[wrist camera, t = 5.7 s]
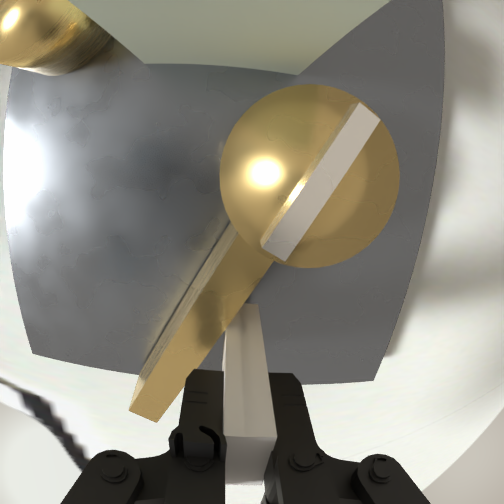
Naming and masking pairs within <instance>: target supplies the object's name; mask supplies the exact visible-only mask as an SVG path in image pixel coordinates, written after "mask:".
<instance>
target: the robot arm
mask: <svg viewBox="0 0 504 504" xmlns="http://www.w3.org/2000/svg"><path fill="white" fill-rule="evenodd" d="M168 440H169V447H170V450H168V451H167V452H166V453H164V454H161V455H159V456H155V457H149V458H139V459H134V458H133V457H132V456H130V455H129V454H127V453H126V452H122V451H118V450H106V451H103V452H101V453H98V454H97V455H95V456H94V457H93V458H92V459H91V460H90V462H89V463H88V465H87V466H86V468H85V469H84V470H83V472H82V473H81V475H80V476H79V478H78V479H77V480H76V482H75V483H74V485H73V486H72V488H71V489H70V491H69V492H68V494H67V495H66V496H65V498H64V499H63V501H62V502H61V504H225V485H262V483H263V480H264V484H265V493H264V496H263V499H262V501H261V504H430V502H429V501H428V500H427V498H426V497H425V496H424V495H423V494H422V492H421V491H420V489H419V488H418V487H417V486H416V484H415V483H414V482H413V480H412V479H411V478H410V477H409V475H408V474H407V473H406V471H405V470H404V469H403V468H402V466H401V465H400V464H399V463H398V462H397V461H396V460H395V459H394V458H392V457H390V456H387V455H383V454H374V455H370V456H368V457H366V458H365V459H363V460H362V461H361V463H359V462H352V461H345V460H339V459H336V458H333V457H331V456H329V455H327V454H325V452H324V451H323V450H321V449H320V448H319V446H318V445H317V443H316V440H315V436H314V432H313V428H312V424H311V420H310V417H309V413H308V409H307V407H306V401H305V397H304V393H303V389H302V385H301V383H300V381H299V380H298V379H297V378H296V377H295V375H294V374H293V373H271V372H268V370H267V363H266V356H265V349H264V342H263V335H262V328H261V321H260V314H259V307H258V304H248V303H244V304H243V305H242V307H241V308H240V310H239V311H238V312H237V314H236V315H235V317H234V318H233V319H232V321H231V322H230V324H229V325H228V326H227V328H226V329H225V333H224V345H223V362H222V371H215V370H203V369H193V370H192V372H191V373H190V374H189V375H188V377H187V378H186V381H185V387H184V394H183V400H182V406H181V413H180V419H179V426H178V427H176V428H175V429H174V430H173V431H172V432H171V434H170V437H169V439H168Z"/></svg>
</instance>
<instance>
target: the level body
mask: <svg viewBox="0 0 504 504" xmlns="http://www.w3.org/2000/svg"><path fill="white" fill-rule="evenodd" d="M68 1H69V2H71V3H72V4H73V5H75V6H76V7H77V8H78V9H80V10H81V11H82V12H83V13H85V14H86V15H87V16H88V17H90V18H91V19H92V20H93V21H95V22H96V23H97V24H98V25H100V26H101V27H102V28H103V29H105V30H106V31H107V32H108V33H109V34H111V35H112V36H113V37H114V38H115V39H117V40H118V41H119V42H120V43H121V44H122V45H124V46H125V47H126V48H127V49H128V50H129V51H131V52H132V53H133V54H134V55H135V56H136V57H138V58H139V59H140V60H141V61H142V62H143V63H144V64H202V65H218V66H230V67H241V68H250V69H259V70H266V71H274V72H280V73H287V74H293V75H299V74H300V73H301V72H302V71H304V70H305V69H306V68H307V67H308V66H309V65H310V64H312V63H313V62H314V61H315V60H316V59H317V58H318V57H320V56H321V55H322V54H323V53H324V52H326V51H327V50H328V49H329V48H330V47H332V46H333V45H334V44H335V43H336V42H338V41H339V40H340V39H341V38H342V37H344V36H345V35H346V34H347V33H349V32H350V31H351V30H352V29H354V28H355V27H356V26H358V25H359V24H360V23H361V22H363V21H364V20H365V19H367V18H368V17H369V16H371V15H372V14H373V13H375V12H376V11H377V10H379V9H380V8H381V7H383V6H384V5H385V4H387V3H388V2H390V1H391V0H68Z"/></svg>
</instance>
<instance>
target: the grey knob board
mask: <svg viewBox="0 0 504 504" xmlns="http://www.w3.org/2000/svg"><path fill="white" fill-rule="evenodd" d="M0 64H3V65H8V66H12V73H11V79H10V86H9V93H8V101H7V110H6V121H5V136H4V200H5V215H6V226H7V236H8V244H9V251H10V258H11V265H12V271H13V276H14V282H15V287H16V292H17V296H18V301H19V305H20V310H21V314H22V318H23V322H24V326H25V329H26V333H27V336H28V340H29V343H30V347H31V350H32V353H33V354H36V355H40V356H44V357H48V358H52V359H56V360H61V361H65V362H69V363H74V364H79V365H84V366H89V367H94V368H100V369H105V370H111V371H117V372H123V373H130V374H136V375H139V374H140V371H141V369H142V368H143V366H144V364H145V363H146V361H147V359H148V357H149V356H150V354H151V352H152V350H153V349H154V347H155V345H156V344H157V342H158V340H159V338H160V337H161V335H162V333H163V332H164V330H165V328H166V327H167V325H168V323H169V321H170V320H171V318H172V316H173V315H174V313H175V311H176V310H177V308H178V306H179V305H180V303H181V301H182V300H183V298H184V296H185V295H186V293H187V291H188V290H189V288H190V286H191V285H192V283H193V282H194V280H195V278H196V277H197V275H198V273H199V272H200V270H201V269H202V267H203V265H204V264H205V262H206V260H207V259H208V257H209V256H210V254H211V252H212V251H213V249H214V248H215V246H216V244H217V243H218V241H219V240H220V238H221V236H222V235H223V233H224V232H225V230H226V228H227V227H228V225H229V224H230V222H231V221H230V219H229V216H228V214H227V212H226V210H225V207H224V203H223V200H222V196H221V190H220V175H219V173H220V163H221V158H222V154H223V149H224V146H225V144H226V141H227V139H228V136H229V134H230V133H231V131H232V129H233V127H234V126H235V124H236V123H237V121H238V120H239V119H240V118H241V116H242V115H243V114H244V113H245V112H246V111H247V110H248V109H249V108H250V107H251V106H252V105H253V104H255V103H256V102H257V101H259V100H260V99H262V98H263V97H265V96H267V95H269V94H271V93H272V92H275V91H277V90H280V89H283V88H286V87H290V86H295V85H304V84H316V85H325V86H330V87H334V88H337V89H340V90H343V91H345V92H347V93H349V94H351V95H353V96H355V97H357V98H358V99H360V100H361V101H362V102H364V103H365V104H367V105H368V106H369V107H370V108H371V109H372V110H373V111H374V112H375V113H376V114H377V115H378V117H379V118H380V119H381V120H382V122H383V123H384V125H385V126H386V128H387V130H388V131H389V133H390V135H391V137H392V140H393V142H394V145H395V148H396V151H397V155H398V161H399V170H400V181H399V190H398V196H397V200H396V203H395V206H394V209H393V211H392V214H391V216H390V218H389V220H388V222H387V223H386V225H385V227H384V228H383V230H382V231H381V232H380V233H379V235H378V236H377V237H376V238H375V239H374V240H373V241H372V242H371V243H370V244H369V245H368V246H367V247H366V248H364V249H363V250H362V251H361V252H359V253H358V254H356V255H354V256H353V257H351V258H349V259H347V260H345V261H342V262H340V263H337V264H334V265H330V266H325V267H320V268H299V267H293V266H288V265H284V264H281V263H278V262H275V261H273V263H272V264H271V266H270V267H269V268H268V270H267V271H266V273H265V274H264V276H263V277H262V278H261V280H260V281H259V283H258V284H257V286H256V287H255V288H254V290H253V291H252V293H251V294H250V295H249V297H248V298H247V300H246V301H245V303H248V304H258V307H259V314H260V321H261V328H262V335H263V342H264V349H265V356H266V363H267V370H268V372H271V373H293V374H294V375H295V377H296V378H297V379H298V380H299V381H300V383H301V385H307V384H334V383H351V382H365V381H373V380H374V378H375V376H376V373H377V371H378V369H379V366H380V364H381V361H382V359H383V357H384V354H385V351H386V349H387V346H388V344H389V341H390V338H391V336H392V333H393V330H394V328H395V325H396V322H397V319H398V316H399V313H400V310H401V307H402V304H403V301H404V298H405V295H406V292H407V289H408V285H409V282H410V279H411V275H412V272H413V268H414V265H415V261H416V257H417V254H418V250H419V246H420V242H421V238H422V234H423V229H424V225H425V221H426V216H427V211H428V206H429V201H430V196H431V191H432V185H433V180H434V174H435V167H436V161H437V154H438V146H439V138H440V129H441V119H442V106H443V91H444V19H443V5H442V0H391V1H390V2H388V3H387V4H385V5H384V6H383V7H381V8H380V9H379V10H377V11H376V12H375V13H373V14H372V15H371V16H369V17H368V18H367V19H365V20H364V21H363V22H361V23H360V24H359V25H358V26H356V27H355V28H354V29H352V30H351V31H350V32H349V33H347V34H346V35H345V36H344V37H342V38H341V39H340V40H339V41H338V42H336V43H335V44H334V45H333V46H332V47H330V48H329V49H328V50H327V51H326V52H324V53H323V54H322V55H321V56H320V57H318V58H317V59H316V60H315V61H314V62H313V63H312V64H310V65H309V66H308V67H307V68H306V69H305V70H304V71H302V72H301V73H300V74H299V75H293V74H287V73H280V72H274V71H266V70H259V69H250V68H241V67H230V66H218V65H202V64H144V63H143V62H142V61H141V60H140V59H139V58H138V57H136V56H135V55H134V54H133V53H132V52H131V51H129V50H128V49H127V48H126V47H125V46H124V45H122V44H121V43H120V42H119V41H118V40H117V39H115V38H114V37H113V36H112V35H111V34H109V33H108V32H107V31H106V30H105V29H103V28H102V27H101V26H100V25H98V24H97V23H96V22H95V21H93V20H92V19H91V18H90V17H88V16H87V15H86V14H85V13H83V12H82V11H81V10H80V9H78V8H77V7H76V6H75V5H73V4H72V3H71V2H69V1H68V0H0ZM224 333H225V331H224V332H223V333H222V335H221V336H220V338H219V339H218V340H217V342H216V343H215V345H214V346H213V347H212V349H211V350H210V351H209V353H208V354H207V356H206V357H205V358H204V360H203V361H202V362H201V364H200V365H199V367H198V368H197V369H203V370H215V371H222V362H223V345H224Z"/></svg>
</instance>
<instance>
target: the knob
mask: <svg viewBox="0 0 504 504" xmlns="http://www.w3.org/2000/svg"><path fill="white" fill-rule="evenodd" d="M219 175H220V190H221V196H222V200H223V203H224V207H225V210H226V212H227V214H228V216H229V219H230V221H231V222H230V224H229V225H228V227H227V228H226V230H225V232H224V233H223V235H222V236H221V238H220V240H219V241H218V243H217V244H216V246H215V248H214V249H213V251H212V252H211V254H210V256H209V257H208V259H207V260H206V262H205V264H204V265H203V267H202V269H201V270H200V272H199V273H198V275H197V277H196V278H195V280H194V282H193V283H192V285H191V286H190V288H189V290H188V291H187V293H186V295H185V296H184V298H183V300H182V301H181V303H180V305H179V306H178V308H177V310H176V311H175V313H174V315H173V316H172V318H171V320H170V321H169V323H168V325H167V327H166V328H165V330H164V332H163V333H162V335H161V337H160V338H159V340H158V342H157V344H156V345H155V347H154V349H153V350H152V352H151V354H150V356H149V357H148V359H147V361H146V363H145V364H144V366H143V368H142V369H141V371H140V374H139V377H138V381H137V384H136V387H135V390H134V394H133V397H132V401H131V404H130V407H129V411H131V412H133V413H135V414H137V415H140V416H142V417H144V418H147V419H149V420H151V421H154V422H156V423H157V422H158V421H159V419H160V418H161V417H162V415H163V414H164V413H165V411H166V410H167V409H168V407H169V406H170V405H171V403H172V402H173V401H174V399H175V398H176V397H177V395H178V394H179V392H180V391H181V390H182V388H183V387H184V386H185V381H186V378H187V377H188V375H189V374H190V373H191V372H192V370H193V369H197V368H198V367H199V365H200V364H201V362H202V361H203V360H204V358H205V357H206V356H207V354H208V353H209V351H210V350H211V349H212V347H213V346H214V345H215V343H216V342H217V340H218V339H219V338H220V336H221V335H222V333H223V332H224V331H225V329H226V328H227V326H228V325H229V324H230V322H231V321H232V319H233V318H234V317H235V315H236V314H237V312H238V311H239V310H240V308H241V307H242V305H243V304H244V303H245V301H246V300H247V298H248V297H249V295H250V294H251V293H252V291H253V290H254V288H255V287H256V286H257V284H258V283H259V281H260V280H261V278H262V277H263V276H264V274H265V273H266V271H267V270H268V268H269V267H270V266H271V264H272V263H273V261H275V262H278V263H281V264H284V265H288V266H293V267H299V268H320V267H325V266H330V265H334V264H337V263H340V262H342V261H345V260H347V259H349V258H351V257H353V256H354V255H356V254H358V253H359V252H361V251H362V250H363V249H364V248H366V247H367V246H368V245H369V244H370V243H371V242H372V241H373V240H374V239H375V238H376V237H377V236H378V235H379V233H380V232H381V231H382V230H383V228H384V227H385V225H386V223H387V222H388V220H389V218H390V216H391V214H392V211H393V209H394V206H395V203H396V200H397V196H398V190H399V181H400V170H399V161H398V155H397V151H396V148H395V145H394V142H393V140H392V137H391V135H390V133H389V131H388V130H387V128H386V126H385V125H384V123H383V122H382V120H381V119H380V118H379V117H378V115H377V114H376V113H375V112H374V111H373V110H372V109H371V108H370V107H369V106H368V105H367V104H365V103H364V102H362V101H361V100H360V99H358V98H357V97H355V96H353V95H351V94H349V93H347V92H345V91H343V90H340V89H337V88H334V87H330V86H325V85H316V84H304V85H295V86H290V87H286V88H283V89H280V90H277V91H275V92H272V93H271V94H269V95H267V96H265V97H263V98H262V99H260V100H259V101H257V102H256V103H255V104H253V105H252V106H251V107H250V108H249V109H248V110H247V111H246V112H245V113H244V114H243V115H242V116H241V118H240V119H239V120H238V121H237V123H236V124H235V126H234V127H233V129H232V131H231V133H230V134H229V136H228V139H227V141H226V144H225V146H224V149H223V154H222V158H221V163H220V173H219Z"/></svg>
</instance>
